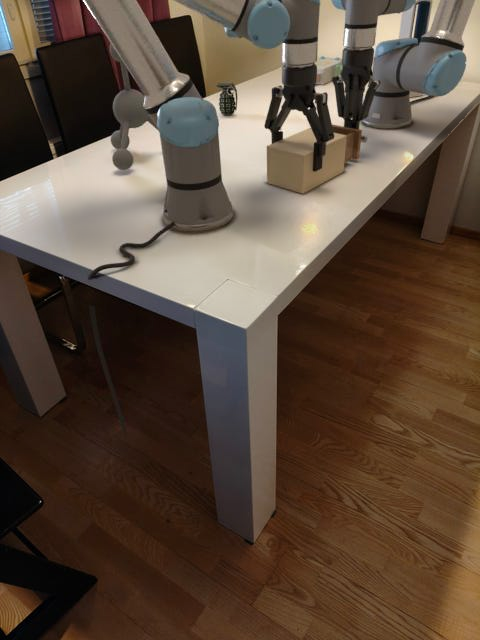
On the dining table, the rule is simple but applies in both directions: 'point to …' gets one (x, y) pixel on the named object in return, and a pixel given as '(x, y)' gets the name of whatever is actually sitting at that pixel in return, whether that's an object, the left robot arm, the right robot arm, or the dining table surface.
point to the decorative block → (327, 69)
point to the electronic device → (416, 24)
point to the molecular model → (126, 117)
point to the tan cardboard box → (303, 161)
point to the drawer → (351, 141)
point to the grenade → (227, 99)
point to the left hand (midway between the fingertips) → (297, 164)
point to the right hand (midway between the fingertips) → (349, 145)
